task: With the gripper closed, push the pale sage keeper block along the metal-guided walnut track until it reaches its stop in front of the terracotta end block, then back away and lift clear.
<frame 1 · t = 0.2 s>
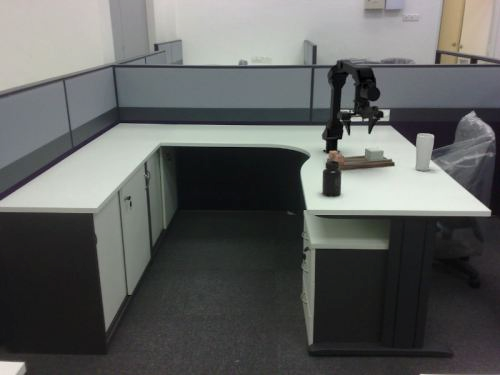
hand: (359, 134, 199), 15 cm above the table, tool pointing down, fingers open, 9 cm apart
drinking glass: (421, 170, 199), on the table
supplement bottle: (331, 194, 173), on the table
track: (359, 163, 209), on the table
keeper: (374, 154, 209), point 4 cm above the table, slide at 0.0 cm
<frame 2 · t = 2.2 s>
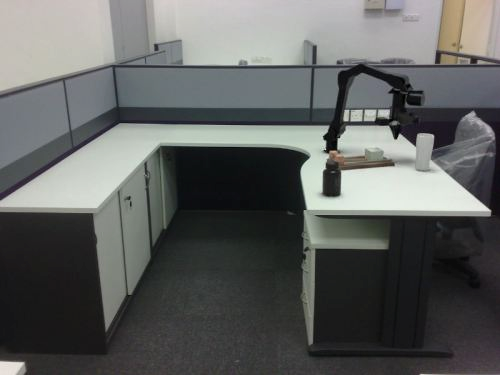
hand: (395, 139, 209), 10 cm above the table, tool pointing down, fingers closed
nothing on the table moved.
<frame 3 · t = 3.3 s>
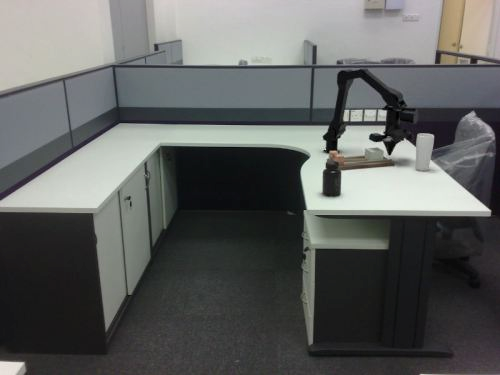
hand: (389, 155, 211), 3 cm above the table, tool pointing down, fingers closed
nothing on the table moved.
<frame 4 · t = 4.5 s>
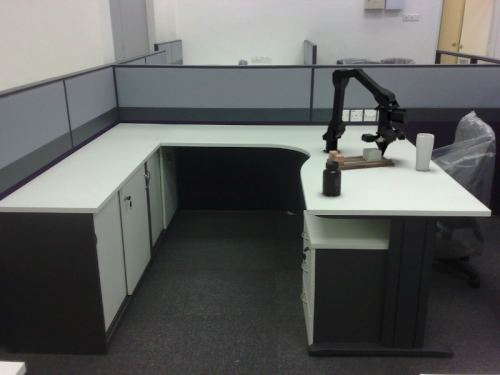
hand: (381, 155, 210), 3 cm above the table, tool pointing down, fingers closed
keeper: (372, 154, 209), point 4 cm above the table, slide at 1.0 cm, touching gripper
everything else where it was.
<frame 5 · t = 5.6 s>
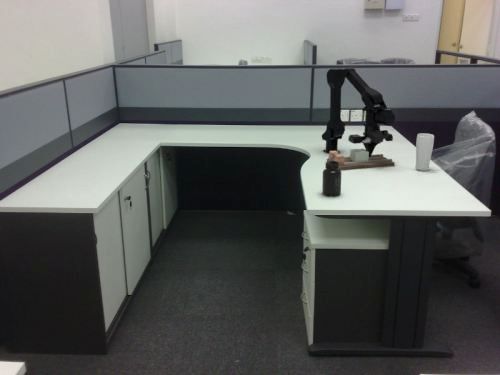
hand: (369, 156, 209), 3 cm above the table, tool pointing down, fingers closed
keeper: (359, 155, 207), point 4 cm above the table, slide at 7.1 cm, touching gripper
everything else where it was.
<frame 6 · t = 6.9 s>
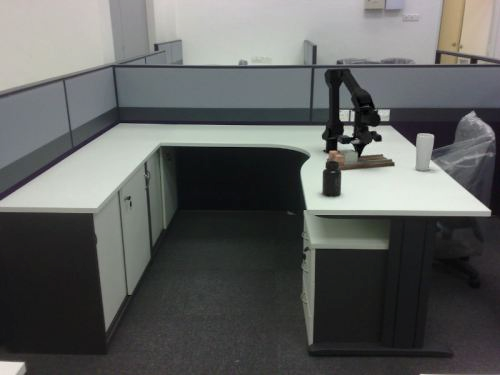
hand: (358, 157, 208), 3 cm above the table, tool pointing down, fingers closed
keeper: (348, 156, 206), point 4 cm above the table, slide at 12.3 cm, touching gripper
everything else where it was.
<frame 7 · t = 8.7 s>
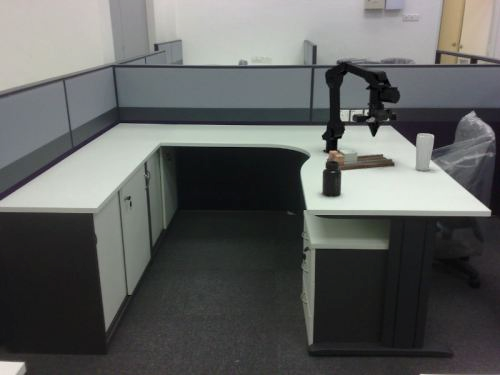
hand: (373, 136, 206), 12 cm above the table, tool pointing down, fingers closed
keeper: (348, 156, 206), point 4 cm above the table, slide at 12.4 cm
everything else where it was.
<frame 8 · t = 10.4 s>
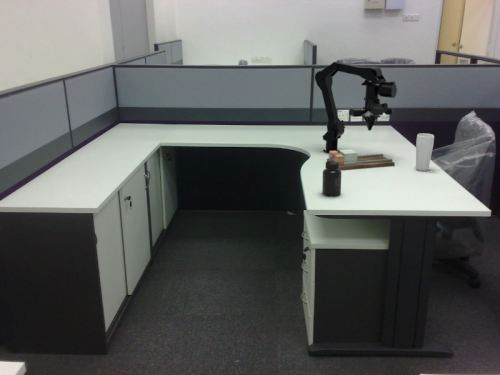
hand: (369, 130, 213), 13 cm above the table, tool pointing down, fingers closed
nothing on the table moved.
at the end: keeper slide at 12.4 cm; the gripper is holding nothing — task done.
